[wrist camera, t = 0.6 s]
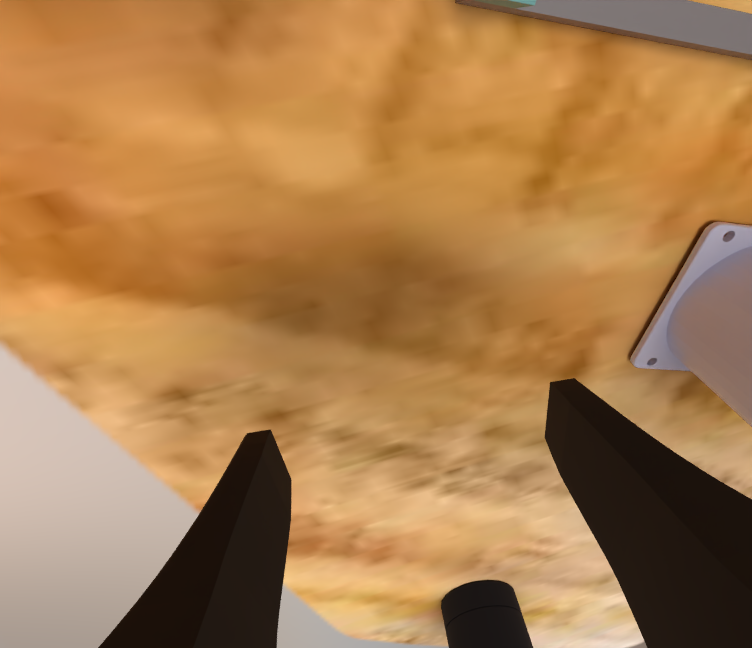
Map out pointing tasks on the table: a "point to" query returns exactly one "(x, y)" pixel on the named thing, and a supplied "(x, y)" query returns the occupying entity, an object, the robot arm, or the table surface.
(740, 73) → the table surface
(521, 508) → the table surface
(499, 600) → the black water bottle
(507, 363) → the table surface
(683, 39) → the u-shaped frame
